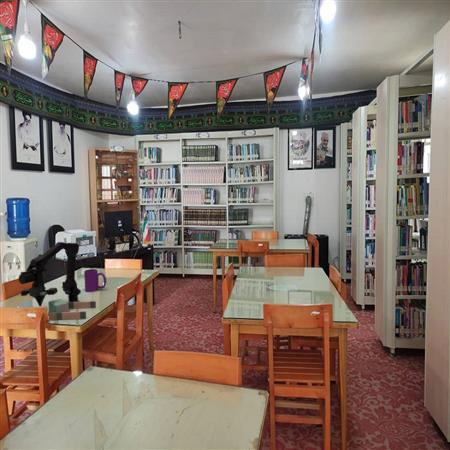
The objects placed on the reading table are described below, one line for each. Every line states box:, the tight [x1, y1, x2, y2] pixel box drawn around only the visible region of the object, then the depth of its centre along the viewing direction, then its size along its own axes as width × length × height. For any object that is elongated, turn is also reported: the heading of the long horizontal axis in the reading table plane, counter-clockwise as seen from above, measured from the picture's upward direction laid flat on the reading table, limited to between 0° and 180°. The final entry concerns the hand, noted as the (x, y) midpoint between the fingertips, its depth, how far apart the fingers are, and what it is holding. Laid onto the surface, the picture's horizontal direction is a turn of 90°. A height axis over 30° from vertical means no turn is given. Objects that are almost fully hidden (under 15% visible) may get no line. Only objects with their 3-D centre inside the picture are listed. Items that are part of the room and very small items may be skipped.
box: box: [48, 298, 70, 313], centre depth 210 cm, size 7×14×8 cm, turn 44°
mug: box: [83, 268, 107, 293], centre depth 259 cm, size 9×16×15 cm, turn 90°
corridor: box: [47, 300, 97, 321], centre depth 210 cm, size 20×24×4 cm
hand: (40, 305), depth 208 cm, fingers closed
